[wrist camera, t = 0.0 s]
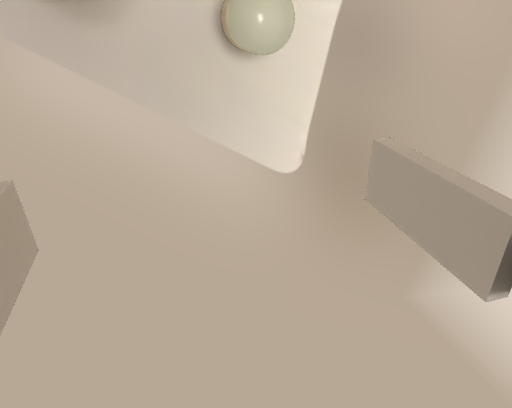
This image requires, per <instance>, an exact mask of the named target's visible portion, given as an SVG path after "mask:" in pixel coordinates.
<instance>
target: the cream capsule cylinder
mask: <svg viewBox="0 0 512 408" xmlns="http://www.w3.org/2000/svg"><path fill="white" fill-rule="evenodd" d="M294 22H295V13H294V7H293V4H292V1H291V0H225V2H224V4H223V7H222V11H221V23H222V28H223V31H224V33H225V35H226V37H227V38H228V40H229V41H230V42H231V43H232V44H233V45H235V46H236V47H238V48H240V49H243V50H245V51H248V52H250V53H253V54H257V55H268V54H272V53H274V52H276V51H278V50H279V49H281V48H282V47H283V46H284V45H285V44H286V43H287V41H288V40H289V38H290V36H291V34H292V31H293V28H294Z"/></svg>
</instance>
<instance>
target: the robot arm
mask: <svg viewBox="0 0 512 408" xmlns="http://www.w3.org/2000/svg"><path fill="white" fill-rule="evenodd" d="M365 200H366V201H367V202H369V203H370V204H371V205H372V206H373V207H374V208H376V209H377V210H378V211H379V212H380V213H382V214H383V215H384V216H385V217H386V218H388V219H389V220H390V221H391V222H392V223H393V224H394V225H396V226H397V227H398V228H399V229H400V230H402V231H403V232H404V233H405V234H406V235H407V236H409V237H410V238H411V239H412V240H413V241H414V242H416V243H417V244H418V245H419V246H420V247H421V248H423V249H424V250H425V251H426V252H428V253H429V254H430V255H431V256H432V257H433V258H435V259H436V260H437V261H438V262H439V263H440V264H441V265H443V266H444V267H445V268H446V269H447V270H449V271H450V272H451V273H452V274H453V275H454V276H456V277H457V278H458V279H459V280H460V281H462V282H463V283H464V284H465V285H466V286H467V287H469V288H470V289H471V290H472V291H473V292H474V293H476V294H477V295H478V296H479V297H480V298H481V299H483V300H484V301H485V302H489V301H493V300H497V299H501V298H505V297H508V295H509V293H510V290H511V288H512V199H510V198H508V197H506V196H504V195H502V194H500V193H498V192H496V191H494V190H492V189H490V188H488V187H487V186H485V185H483V184H480V183H479V182H477V181H475V180H473V179H471V178H469V177H467V176H465V175H463V174H461V173H459V172H457V171H455V170H453V169H451V168H449V167H447V166H445V165H443V164H441V163H440V162H437V161H436V160H433V159H432V158H430V157H427V156H426V155H424V154H422V153H420V152H418V151H416V150H414V149H412V148H410V147H408V146H406V145H404V144H402V143H400V142H398V141H396V140H394V139H392V138H391V137H388V138H380V139H373V145H372V153H371V160H370V168H369V174H368V182H367V189H366V196H365ZM37 252H38V247H37V245H36V242H35V239H34V237H33V234H32V231H31V229H30V226H29V223H28V221H27V218H26V215H25V213H24V210H23V207H22V204H21V202H20V199H19V196H18V194H17V191H16V188H15V185H14V183H13V181H5V182H0V335H1V333H2V331H3V328H4V326H5V324H6V321H7V319H8V317H9V315H10V313H11V310H12V308H13V306H14V304H15V302H16V299H17V297H18V295H19V293H20V290H21V288H22V286H23V284H24V282H25V279H26V277H27V275H28V273H29V270H30V268H31V266H32V263H33V261H34V259H35V257H36V255H37Z"/></svg>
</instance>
